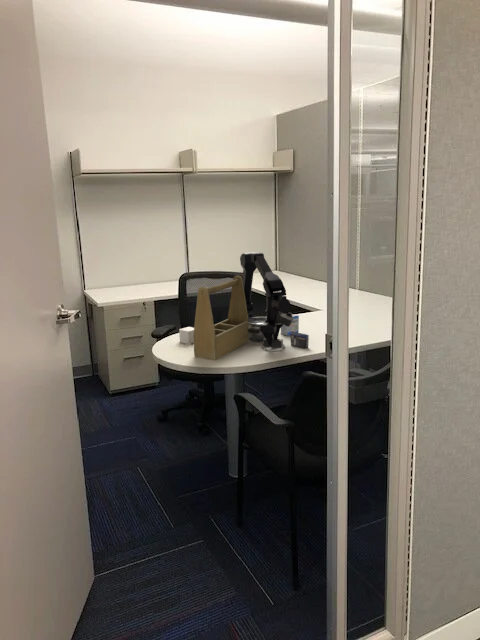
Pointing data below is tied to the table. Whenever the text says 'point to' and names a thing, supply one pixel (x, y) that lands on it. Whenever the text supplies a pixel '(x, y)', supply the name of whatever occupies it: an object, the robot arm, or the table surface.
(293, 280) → the table surface
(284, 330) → the medicine box
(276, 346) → the lid
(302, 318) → the table surface
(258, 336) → the pot
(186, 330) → the white cube
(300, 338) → the mini dv tape
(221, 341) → the caddy
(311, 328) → the table surface
